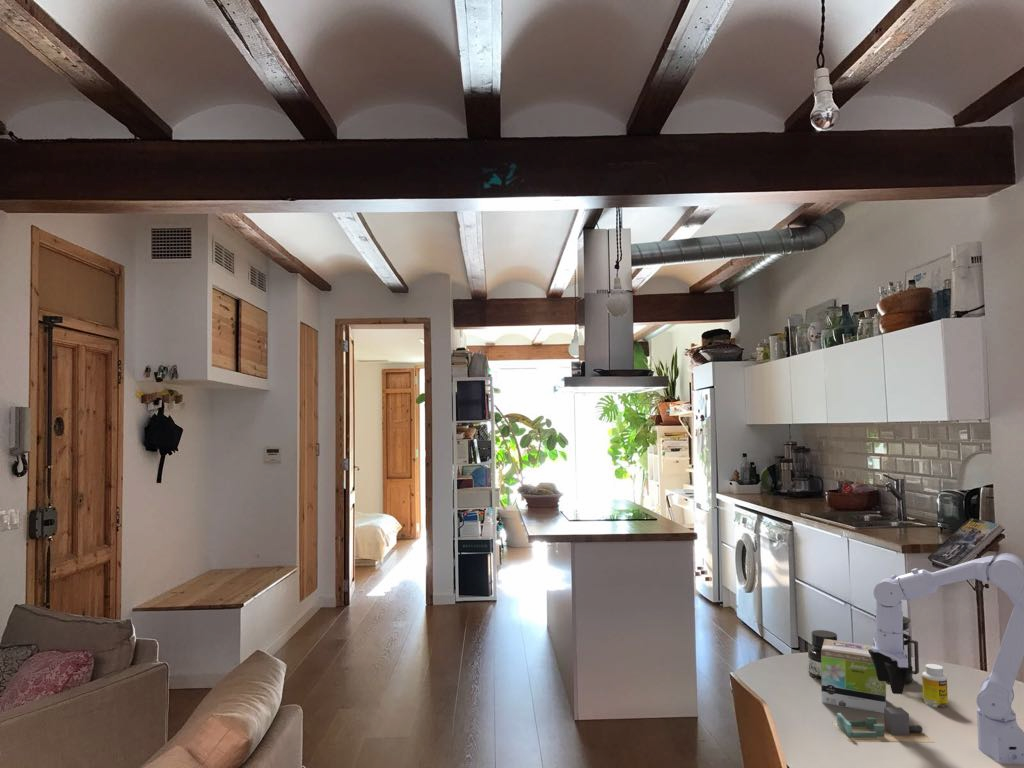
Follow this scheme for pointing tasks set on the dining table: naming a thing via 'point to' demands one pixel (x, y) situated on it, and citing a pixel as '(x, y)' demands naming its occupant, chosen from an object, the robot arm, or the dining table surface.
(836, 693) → the tea box
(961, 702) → the dining table surface
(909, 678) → the french press
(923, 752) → the dining table surface
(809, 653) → the black pill bottle
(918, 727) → the block
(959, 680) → the dining table surface
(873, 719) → the board
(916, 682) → the dining table surface
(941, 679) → the supplement bottle
